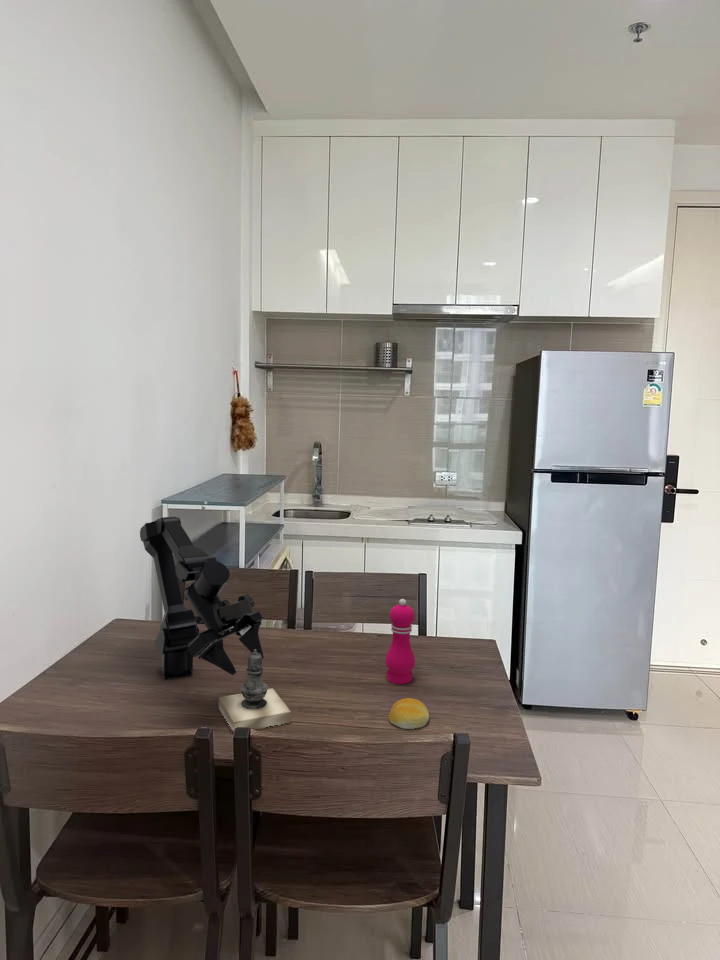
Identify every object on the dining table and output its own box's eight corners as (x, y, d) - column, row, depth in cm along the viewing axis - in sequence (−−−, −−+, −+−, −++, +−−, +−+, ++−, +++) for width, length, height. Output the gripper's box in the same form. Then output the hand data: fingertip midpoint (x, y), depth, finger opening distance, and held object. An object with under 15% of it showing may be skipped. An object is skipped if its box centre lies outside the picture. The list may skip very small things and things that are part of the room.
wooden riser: (233, 734, 128) (233, 722, 127) (218, 708, 138) (218, 697, 138) (290, 723, 133) (290, 711, 133) (272, 699, 144) (272, 688, 143)
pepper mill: (378, 678, 157) (381, 598, 154) (397, 670, 162) (400, 592, 160) (401, 687, 152) (404, 605, 150) (420, 679, 157) (423, 599, 155)
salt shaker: (262, 711, 132) (263, 655, 131) (235, 708, 133) (236, 652, 132) (272, 699, 138) (273, 645, 137) (246, 696, 139) (246, 642, 138)
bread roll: (385, 728, 133) (386, 709, 132) (393, 708, 141) (394, 691, 141) (425, 734, 131) (426, 715, 130) (431, 714, 139) (432, 696, 139)
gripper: (199, 595, 128) (242, 660, 124) (257, 575, 144) (296, 632, 140) (169, 625, 133) (210, 689, 129) (229, 603, 149) (267, 659, 145)
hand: (248, 666), depth 135 cm, fingers open, 9 cm apart
